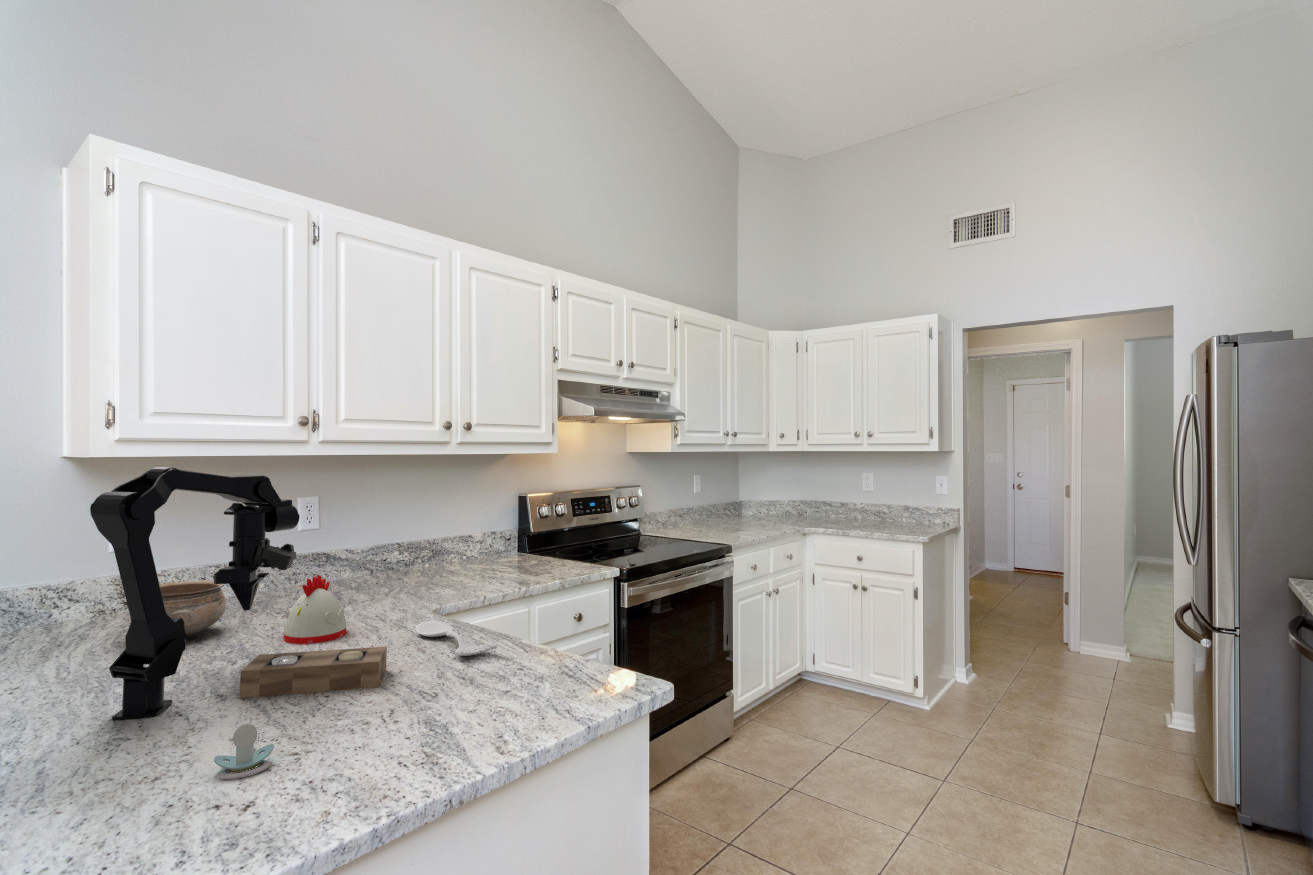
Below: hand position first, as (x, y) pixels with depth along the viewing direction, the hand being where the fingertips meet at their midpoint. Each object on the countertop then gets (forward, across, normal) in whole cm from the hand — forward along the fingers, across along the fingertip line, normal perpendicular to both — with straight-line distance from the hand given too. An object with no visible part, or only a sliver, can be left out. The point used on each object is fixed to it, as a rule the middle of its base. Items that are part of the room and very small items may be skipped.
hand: (247, 609), depth 131 cm
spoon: (+14, +11, -40) cm, 44 cm away
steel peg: (+13, -10, -10) cm, 19 cm away
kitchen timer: (+13, +26, -7) cm, 30 cm away
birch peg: (+13, -10, -22) cm, 27 cm away
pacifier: (+13, -45, -15) cm, 49 cm away
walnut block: (+13, -10, -16) cm, 23 cm away
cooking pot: (+13, +32, +25) cm, 43 cm away
